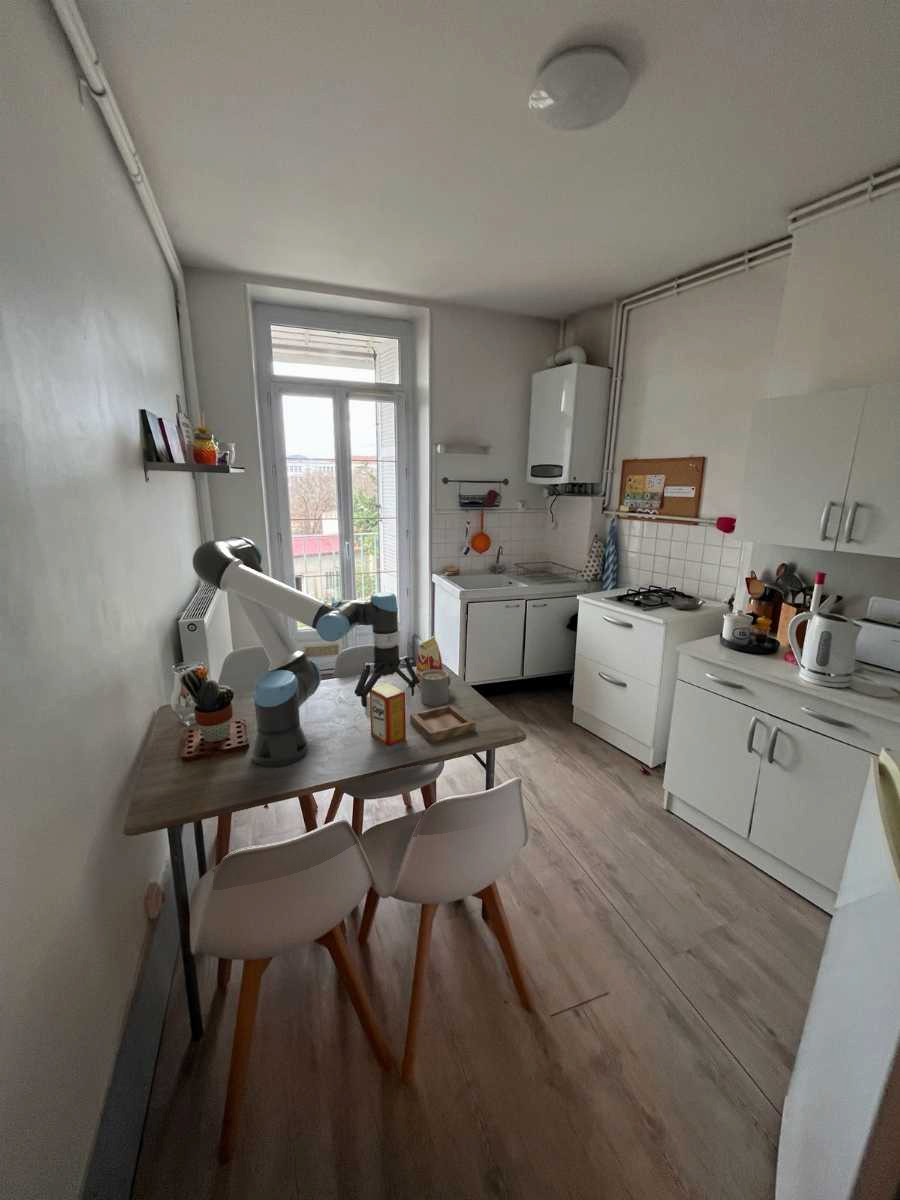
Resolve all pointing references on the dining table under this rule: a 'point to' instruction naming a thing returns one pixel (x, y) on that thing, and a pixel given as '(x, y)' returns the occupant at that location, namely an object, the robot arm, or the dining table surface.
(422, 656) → the milk carton
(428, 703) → the coffee mug
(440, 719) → the tray
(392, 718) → the baking soda box
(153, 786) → the dining table surface
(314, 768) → the dining table surface
